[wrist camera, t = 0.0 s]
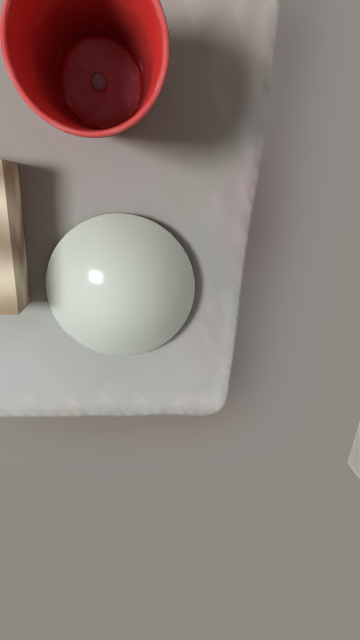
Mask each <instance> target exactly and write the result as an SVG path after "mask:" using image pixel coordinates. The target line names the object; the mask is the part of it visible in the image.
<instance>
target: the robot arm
mask: <svg viewBox="0 0 360 640" xmlns="http://www.w3.org/2000/svg"><path fill="white" fill-rule="evenodd" d="M347 463H348V464H349V465H350V467H351V468H352V469H353V471H354V472H355V474H356V475H357V476H358V478H359V479H360V423H359V426H358V429H357V433H356V436H355V439H354V442H353V446H352V449H351V452H350V455H349V459H348V462H347Z"/></svg>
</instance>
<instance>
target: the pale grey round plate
mask: <svg viewBox="0 0 360 640" xmlns="http://www.w3.org/2000/svg"><path fill="white" fill-rule="evenodd" d="M46 293H47V298H48V302H49V305H50V308H51V310H52V312H53V315H54V316H55V318H56V320H57V321H58V323H59V324H60V325H61V327H62V328H63V329H64V330H65V331H66V332H67V333H68V334H69V335H70V336H71V337H72V338H73V339H74V340H76V341H77V342H78V343H80V344H82V345H83V346H85V347H87V348H89V349H91V350H94V351H96V352H100V353H103V354H108V355H114V356H131V355H138V354H142V353H145V352H149V351H151V350H153V349H156V348H158V347H159V346H161V345H163V344H164V343H166V342H167V341H168V340H170V339H171V338H172V337H173V336H174V335H175V334H176V333H177V332H178V331H179V330H180V328H181V327H182V326H183V324H184V323H185V321H186V320H187V318H188V315H189V313H190V311H191V308H192V305H193V301H194V294H195V281H194V273H193V270H192V266H191V263H190V261H189V258H188V256H187V254H186V252H185V251H184V249H183V247H182V246H181V245H180V243H179V242H178V241H177V239H176V238H175V237H174V236H173V235H172V234H171V233H170V232H169V231H167V230H166V229H165V228H163V227H162V226H161V225H159V224H157V223H155V222H154V221H152V220H149V219H147V218H145V217H142V216H138V215H134V214H127V213H110V214H103V215H99V216H96V217H93V218H90V219H88V220H86V221H84V222H82V223H80V224H79V225H77V226H76V227H74V228H73V229H72V230H70V231H69V232H68V233H67V234H66V235H65V236H64V237H63V238H62V239H61V240H60V242H59V243H58V245H57V246H56V248H55V249H54V251H53V253H52V255H51V258H50V260H49V264H48V267H47V273H46Z"/></svg>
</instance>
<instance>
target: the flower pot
mask: <svg viewBox="0 0 360 640" xmlns="http://www.w3.org/2000/svg"><path fill="white" fill-rule="evenodd" d="M0 40H1V49H2V55H3V59H4V62H5V65H6V68H7V71H8V73H9V76H10V78H11V80H12V82H13V84H14V86H15V88H16V89H17V91H18V92H19V94H20V95H21V97H22V98H23V100H24V101H25V102H26V103H27V104H28V106H29V107H30V108H31V109H32V110H33V111H34V112H35V113H36V114H37V115H39V116H40V117H41V118H42V119H43V120H45V121H46V122H48V123H49V124H51V125H52V126H54V127H56V128H57V129H60V130H62V131H64V132H66V133H69V134H72V135H76V136H81V137H88V138H102V137H109V136H114V135H117V134H120V133H122V132H124V131H126V130H128V129H130V128H131V127H133V126H134V125H135V124H137V123H138V122H139V121H140V120H141V119H142V118H143V117H144V116H145V115H146V114H147V113H148V112H149V111H150V109H151V108H152V106H153V105H154V104H155V102H156V100H157V98H158V97H159V95H160V93H161V90H162V88H163V85H164V82H165V79H166V75H167V71H168V65H169V53H170V45H169V33H168V27H167V22H166V18H165V14H164V11H163V8H162V5H161V3H160V1H159V0H4V2H3V6H2V11H1V20H0Z"/></svg>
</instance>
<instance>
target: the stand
mask: <svg viewBox="0 0 360 640" xmlns="http://www.w3.org/2000/svg"><path fill="white" fill-rule="evenodd" d="M29 303H30V291H29V280H28V269H27V258H26V248H25V237H24V226H23V215H22V204H21V194H20V183H19V172H18V163H16V162H11V161H6V160H0V314H13V315H19V314H20V313H21V312H22V310H23V309H24V308H25V307H26V306H27V305H28V304H29Z"/></svg>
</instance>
